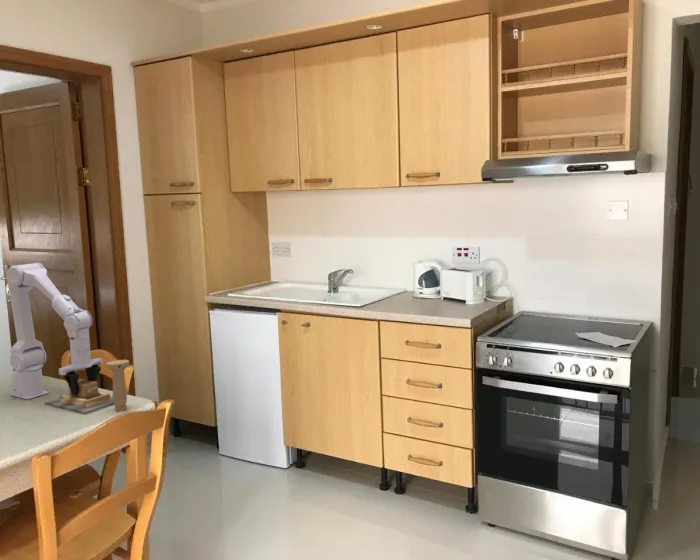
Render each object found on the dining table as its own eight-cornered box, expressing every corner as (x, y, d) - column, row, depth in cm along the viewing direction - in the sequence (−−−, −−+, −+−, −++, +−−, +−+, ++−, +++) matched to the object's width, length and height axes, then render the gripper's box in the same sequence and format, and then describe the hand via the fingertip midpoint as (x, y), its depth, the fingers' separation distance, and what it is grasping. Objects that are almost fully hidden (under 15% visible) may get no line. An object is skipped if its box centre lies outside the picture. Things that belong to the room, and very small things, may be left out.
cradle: (44, 404, 195) (43, 395, 194) (83, 392, 207) (82, 384, 206) (85, 414, 185) (84, 405, 184) (123, 401, 197) (122, 392, 196)
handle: (108, 409, 189) (105, 362, 187) (129, 405, 192) (127, 359, 190) (111, 414, 185) (108, 365, 183) (133, 410, 188) (130, 362, 186)
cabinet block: (69, 400, 196) (68, 382, 195) (82, 396, 200) (81, 378, 199) (87, 404, 191) (86, 386, 190) (100, 400, 195) (98, 382, 194)
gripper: (67, 356, 185) (71, 399, 187) (108, 346, 198) (110, 387, 200) (53, 353, 189) (56, 396, 191) (93, 344, 201) (96, 384, 203)
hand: (83, 391), depth 195 cm, fingers open, 6 cm apart
